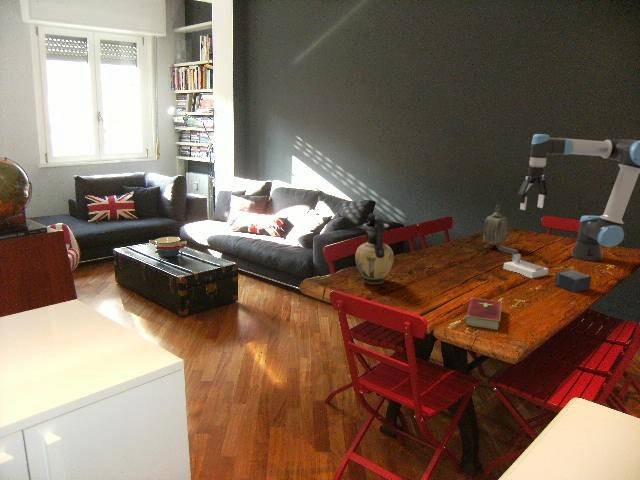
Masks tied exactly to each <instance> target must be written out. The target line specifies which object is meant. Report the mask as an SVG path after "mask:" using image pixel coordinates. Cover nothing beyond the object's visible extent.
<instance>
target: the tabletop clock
mask: <svg viewBox="0 0 640 480" xmlns="http://www.w3.org/2000/svg"><path fill="white" fill-rule="evenodd" d="M500 209H501V205H500V203H498V204H496V206H495V212H493V213H492V214H491V215H488V216H487V217H486V218H485V220H484V225H483V226H484V227H483V233H482V234H483V235H482V241H483V242H487V244H486V245H484V248H485V249H487V248H488V246H489V244H490V245H492V246H494V244H496V245H495V248H496V249H498V248H499V246H500V245H499V244H500V243H502V242H504V241H505V240H506V239H507V234H508V225H509V219H508V218H506V217H504V216H503V215H502V213H501V212H499V211H500Z"/></svg>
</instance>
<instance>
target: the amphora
mask: <svg viewBox="0 0 640 480" xmlns="http://www.w3.org/2000/svg"><path fill="white" fill-rule="evenodd" d="M366 221H367V222H365V223H363V224H362V226H363V228H365V231H366V239H365V242H363V243H362V244H360V245H359V246H358V247H357V249H356V251H355V255H354V256H355V258H354V260H355V265H356V267H357V270H358V271H359V273H360V275H361V276H362V277H363V279H362V281H363V282H365V283H366V284H370V285H376V284H377V285H378V284H382V283H384V281H385V280H384V279H385V277H386V276H387V275H388V273H389V272H390V271H391V269H392V267H393V263H394V251H393V249H392V248H391V247H390V246H389V245H388V244H386V243H384V242H383V240H384V238H383V237H384V234H385V232H386V229H389V227H390V225H389V224H388V223H384V222H385V221H384V219H383V218H382V217H376V215H375V214H374V213H369V214H368V216H367V219H366Z"/></svg>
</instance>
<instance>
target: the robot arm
mask: <svg viewBox="0 0 640 480" xmlns="http://www.w3.org/2000/svg"><path fill="white" fill-rule="evenodd" d="M530 147H531V148H530V157H529V164H528V165H529V166H528V169H527V173H528V174H529V176H527V175H525V176H524V179H523V182H522V184H521V187H520V189H519V190H518V193H517V195H518V197H520V203H519V204H520V207H519V210H521V211H522V210H523V211H526V207H527V201H528V197H527V195H528V194H529V192H530V190H531V189H532V188H533V187H534V186H536V187H537V190H538V192H539V194H538V199H537V206H536V207H537V208H540V209H543V207H544V201H545V196H547V195H548V193H549V189H548V183H547V175H545V172H546V171H545V170H546V167H545V166H547V165H546V164H547V159H548V157H547V156H548V155H556V156H557V155H559V156H560V155H562V156H565V155H566V156H569V155H580V156H582V155H583V156H593V157H601V158H603V159H605V160H606V159H608V160H613V161H617V162H618V164H617V165H618V167H619V171H618V174H617V177H616V179H615V182H614V185H613V188H612V190H611V193H610V196H609V198H608V201H607V203H606V206H605V209H604V212H603V214H602V215H582V216H581V217H580V221H579V227H578V233H577V234H578V235H577V240H576V243H575V245H574V247H573V248H572V250H571V253H570V254H571V257H573V258H575V259H579V260H581V261H582V260H583V261H589V262H599V261H602V260H603V257H604V256H603V251H602V246H603V247H607V248H613V247H615V246H618V245H619V244H620V243H621V242H622V241H623V240H624V237H625V232H624V229H623V227H624V224H625V222H624V221H623V220H622V219H623V217H624V214H625V212H626V209H627V206H628V203H629V201H630V198H631V196H632V193H633V192H634V191H633V190H634V188H635V185H636V183H637V179H638V177H639V175H640V139H639V140H638V139H628V138H626V139H605V140H603V141H602V140H591V139H589V140H588V139H577V138H576V139H575V138H563V137H562V138H561V137H550V135H549V134H544V133H535V134H533V136H532V139H531V146H530Z"/></svg>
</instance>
